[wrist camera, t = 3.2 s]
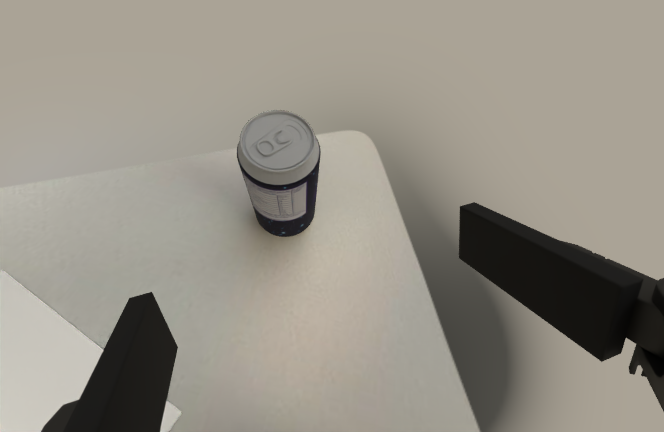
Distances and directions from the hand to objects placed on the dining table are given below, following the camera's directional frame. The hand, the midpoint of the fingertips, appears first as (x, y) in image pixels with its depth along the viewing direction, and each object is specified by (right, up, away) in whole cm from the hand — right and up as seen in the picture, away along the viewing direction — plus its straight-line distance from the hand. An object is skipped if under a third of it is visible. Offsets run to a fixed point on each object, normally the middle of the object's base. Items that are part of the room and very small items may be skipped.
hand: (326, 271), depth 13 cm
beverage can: (-4, +3, +18) cm, 19 cm away
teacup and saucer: (-25, -15, +9) cm, 31 cm away
